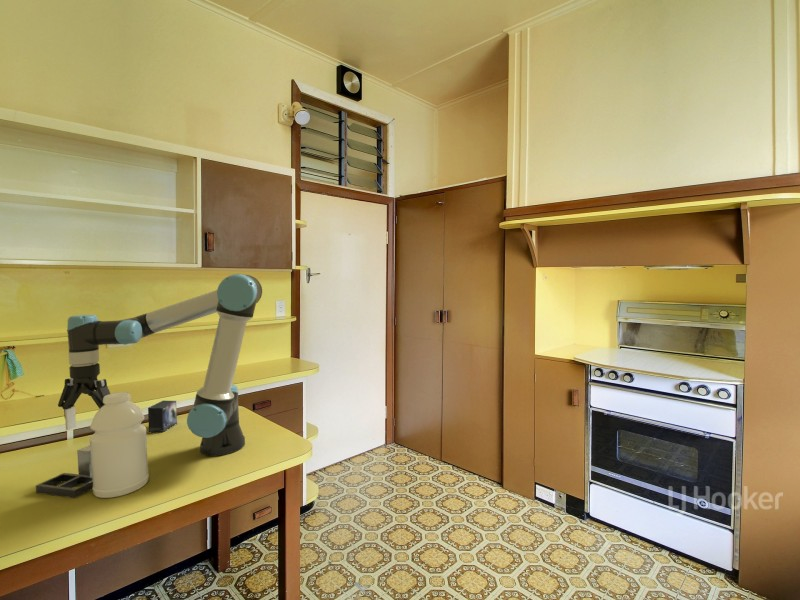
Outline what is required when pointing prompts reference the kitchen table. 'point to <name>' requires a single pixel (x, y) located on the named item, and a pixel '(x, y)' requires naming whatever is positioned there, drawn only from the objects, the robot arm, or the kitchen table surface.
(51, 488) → the divided tray
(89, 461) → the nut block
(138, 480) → the bottle
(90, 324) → the robot arm
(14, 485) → the kitchen table surface
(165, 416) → the small box
